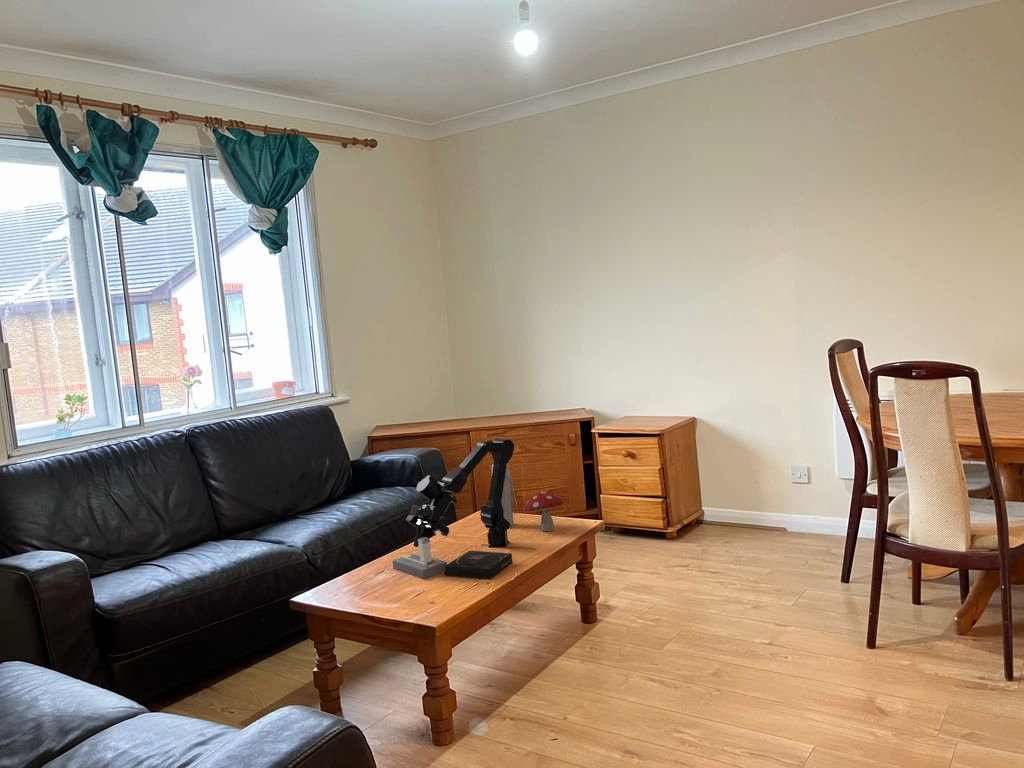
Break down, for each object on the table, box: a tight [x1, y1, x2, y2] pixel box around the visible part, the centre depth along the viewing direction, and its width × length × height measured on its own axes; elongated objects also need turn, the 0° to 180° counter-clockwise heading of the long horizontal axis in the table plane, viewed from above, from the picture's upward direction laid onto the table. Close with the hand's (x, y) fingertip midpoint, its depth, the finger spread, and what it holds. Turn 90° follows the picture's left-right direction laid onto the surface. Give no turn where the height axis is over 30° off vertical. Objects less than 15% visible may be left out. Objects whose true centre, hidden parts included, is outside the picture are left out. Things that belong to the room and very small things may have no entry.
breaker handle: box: [418, 537, 432, 563], centre depth 269 cm, size 3×3×8 cm
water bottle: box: [491, 462, 518, 528], centre depth 318 cm, size 9×8×25 cm
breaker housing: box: [392, 552, 448, 580], centre depth 273 cm, size 10×18×4 cm, turn 41°
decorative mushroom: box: [522, 491, 565, 532], centre depth 307 cm, size 16×16×15 cm
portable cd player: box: [443, 550, 514, 581], centre depth 268 cm, size 16×17×4 cm
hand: (414, 546), depth 271 cm, fingers closed
